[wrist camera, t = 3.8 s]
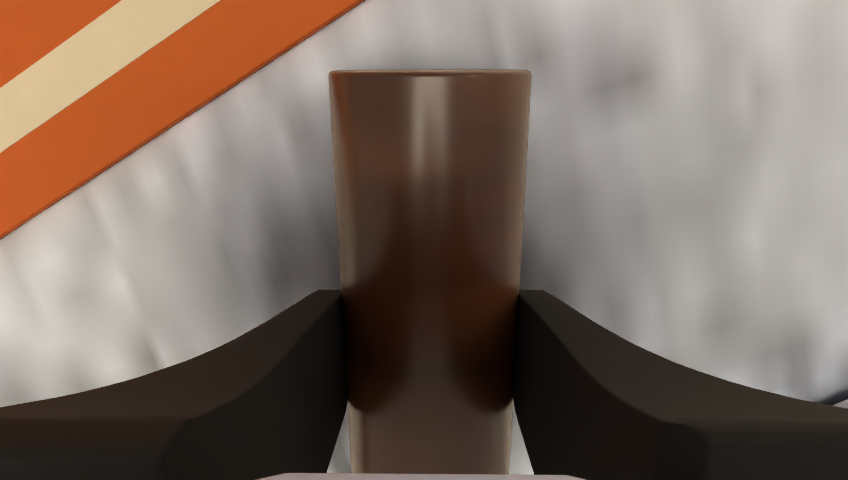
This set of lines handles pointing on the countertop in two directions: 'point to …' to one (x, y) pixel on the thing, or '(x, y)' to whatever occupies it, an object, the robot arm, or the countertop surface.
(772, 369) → the countertop surface
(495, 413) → the rolling pin
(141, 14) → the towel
